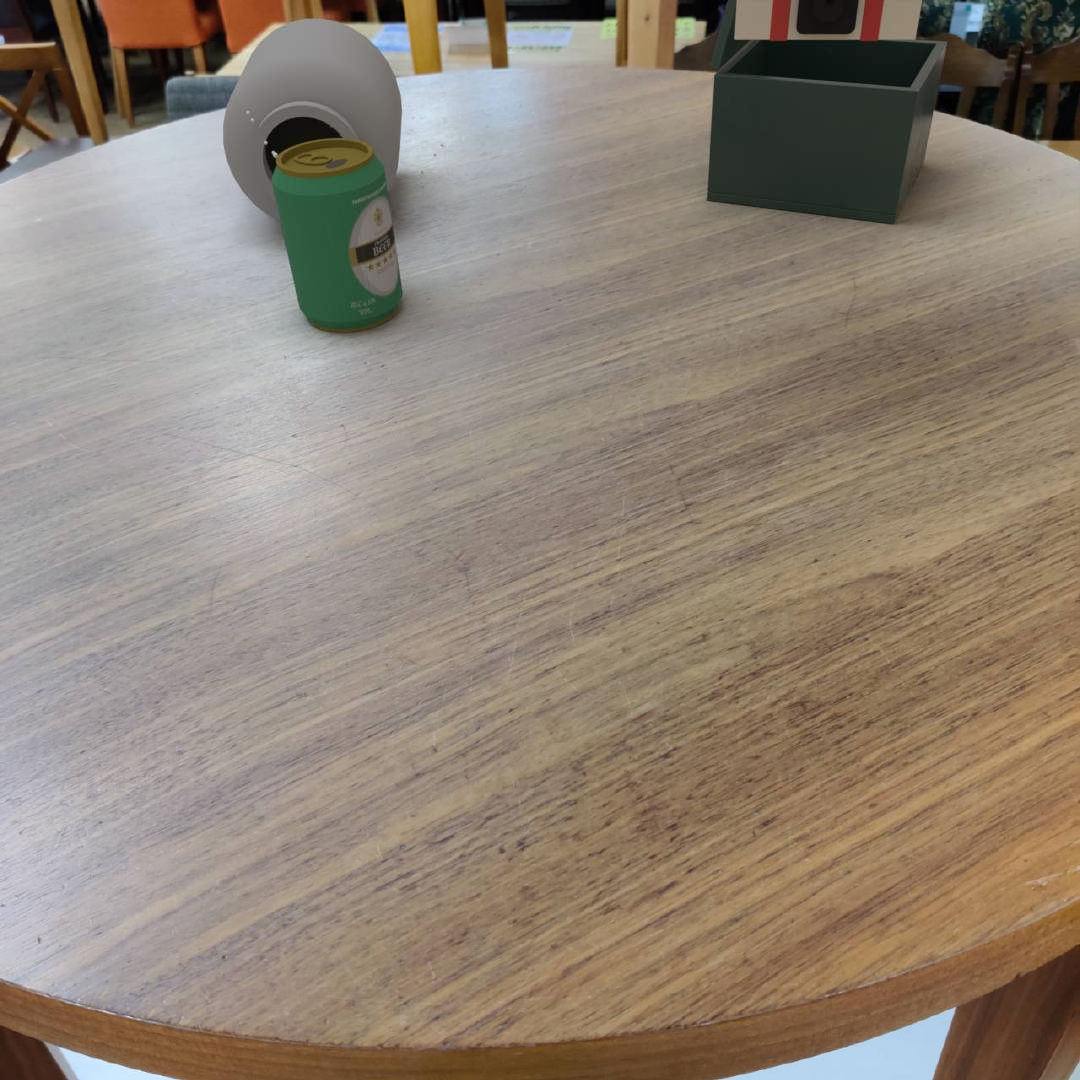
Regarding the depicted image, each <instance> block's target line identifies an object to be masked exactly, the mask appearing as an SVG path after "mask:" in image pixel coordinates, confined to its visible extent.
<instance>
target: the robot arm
mask: <svg viewBox="0 0 1080 1080" xmlns="http://www.w3.org/2000/svg"><path fill="white" fill-rule="evenodd" d="M858 3H859V0H799V4H798V14H797V24H796V29H797V32H798V33H800V34H850V33H852V32H853V31H854V29H855V25H856V18H857V10H858Z"/></svg>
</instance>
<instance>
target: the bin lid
mask: <svg viewBox="0 0 1080 1080" xmlns="http://www.w3.org/2000/svg"><path fill="white" fill-rule="evenodd" d="M736 5H737V0H727V3H726V6H725V10H724V15H723V18H722V21H721V25H720V28H719V32H718V36H717V39H716V43H715V47H714V51H713V54H712V57H711V58H712V59H711V62H710V66H709V67H710V68H711V69H715V70H717V71H719V70H720V69H721V68H722V67H723V66H724V65H725V64H726V63H727V62H728V61H729V60H730V59H731V58H733V57H734V56H735V55H736V54H737V53H738V52H739V51H740V50H741V49H742V48H743V47H744V46H745V45H747V44H748V43H749V42H750V41H751V40H735V39H734V37H735V21H736Z"/></svg>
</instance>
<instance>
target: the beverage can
mask: <svg viewBox="0 0 1080 1080" xmlns="http://www.w3.org/2000/svg"><path fill="white" fill-rule="evenodd" d="M276 164H277V166H276V168H275V171H274V174H273V177H272V186H273V191H274V195H275V200H276V204H277V209H278V213H279V218H280V221H279V222H280V226H281V231H282V235H283V240H284V244H285V249H286V253H287V256H288V258H287V259H288V262H289V267H290V272H291V277H292V281H293V284H294V290H295V294H296V298H297V303H298V307H299V309H300V312H301V313H303V315H304V316H306V317H307V319H308V321H309V323H311V325H313V326H314V327H315V328H317V329H319V330H323V331H326V332H334V333H353V332H361V331H365V330H370V329H372V328H375V327H378V326H381V325H382V324H385V323H386V322H388V321H389V320H391V319H392V318H393V317H394V316H395V315H396V314H397V313H398V311H399V304H400V302H401V300H402V297H403V295H404V294H403V293H404V292H403V291H404V290H403V286H402V278H401V272H400V266H399V265H400V264H399V259H398V258H399V257H398V251H397V245H396V237H395V231H394V225H393V223H394V222H393V218H392V211H391V205H390V197H389V192H388V190H387V183H386V176H385V169H384V165H383V164H382V163H381V161H380V160H379V159H378V158H377V156H376V155H375V154H374V153H373V148H372V147H371V145H369V144H368V143H366V142H363V141H360V140H355V139H346V138H331V139H320V140H314V141H309V142H305V143H301V144H298V145H295V146H292V147H290V148H288V149H286V150H284V151H283V152H282V153H280V154H279V155H278V156H277V158H276Z"/></svg>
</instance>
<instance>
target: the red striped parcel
mask: <svg viewBox="0 0 1080 1080" xmlns="http://www.w3.org/2000/svg"><path fill="white" fill-rule="evenodd" d="M922 3H923V0H859V3H858V10H857V18H856V25H855V29H854V31H853V32H852V33H850V34H800V33H798V32H797V29H796V24H797V14H798V4H799V0H737V5H736V21H735V37H734V39H735V40H750V41H751V40H770V41H787V40H860V41H878V40H917V33H918V27H919V21H920V15H921V10H922Z"/></svg>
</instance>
